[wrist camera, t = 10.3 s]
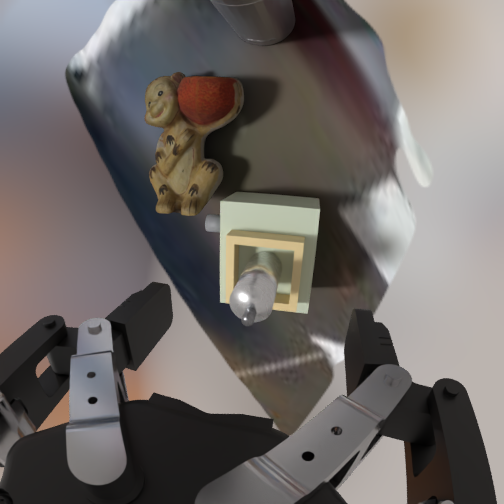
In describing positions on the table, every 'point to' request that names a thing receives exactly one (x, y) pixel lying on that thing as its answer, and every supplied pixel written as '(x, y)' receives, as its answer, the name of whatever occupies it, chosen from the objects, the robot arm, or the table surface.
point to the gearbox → (268, 242)
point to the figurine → (188, 136)
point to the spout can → (256, 288)
